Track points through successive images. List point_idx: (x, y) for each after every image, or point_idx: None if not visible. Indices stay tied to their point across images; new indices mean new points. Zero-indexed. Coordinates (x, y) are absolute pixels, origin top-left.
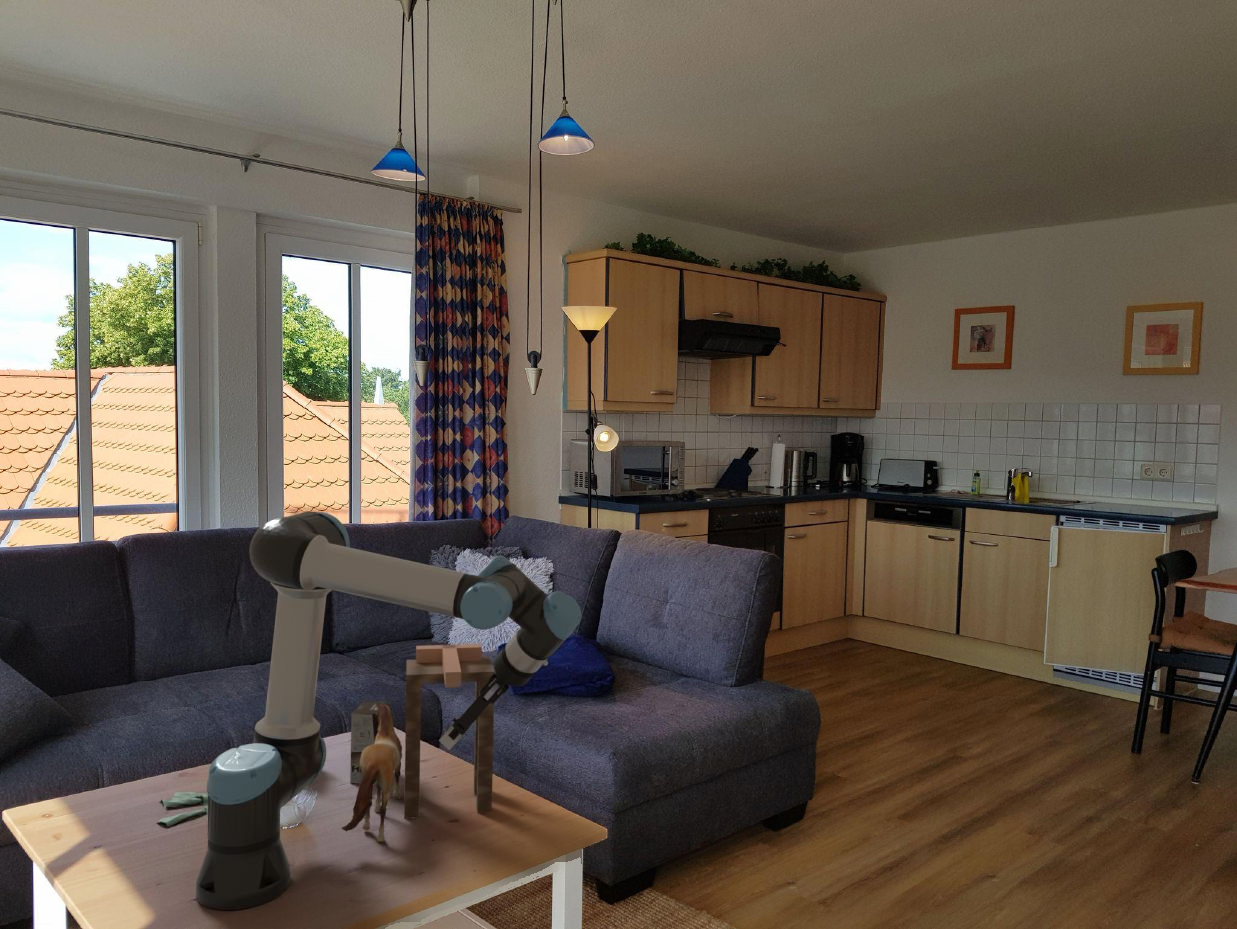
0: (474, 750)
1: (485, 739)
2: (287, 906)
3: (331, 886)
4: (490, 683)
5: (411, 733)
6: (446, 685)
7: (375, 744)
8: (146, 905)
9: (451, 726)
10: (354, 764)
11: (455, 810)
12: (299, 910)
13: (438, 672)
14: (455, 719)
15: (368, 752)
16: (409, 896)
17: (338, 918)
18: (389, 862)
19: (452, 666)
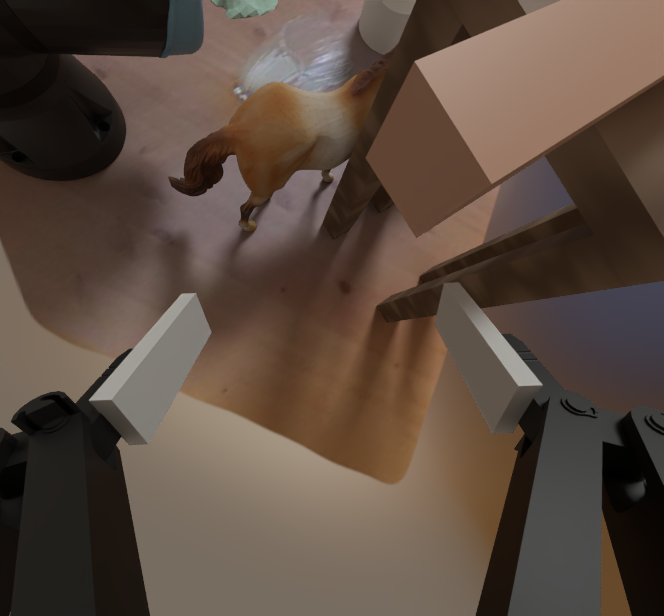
0: (472, 249)
1: None
2: (30, 206)
3: (106, 231)
4: (528, 386)
5: (368, 144)
6: (373, 154)
7: (285, 95)
8: None
9: (127, 358)
10: None
11: (371, 274)
12: (25, 227)
13: None
14: (23, 425)
15: (254, 99)
16: (119, 346)
17: (22, 288)
18: (200, 268)
19: (572, 62)
